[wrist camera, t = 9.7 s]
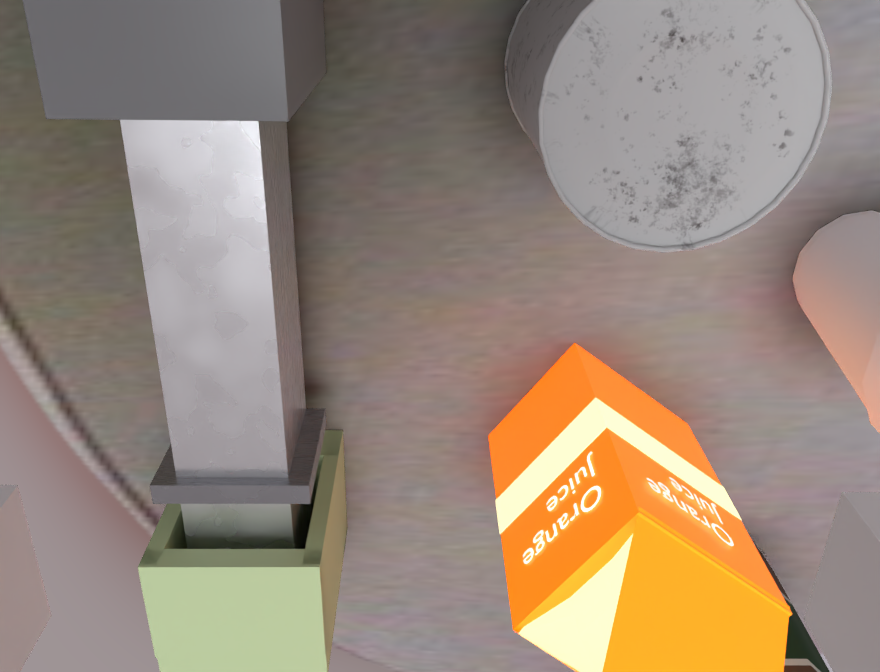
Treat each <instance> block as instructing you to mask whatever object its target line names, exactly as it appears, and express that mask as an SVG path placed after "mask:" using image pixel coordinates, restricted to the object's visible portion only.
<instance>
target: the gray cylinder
mask: <svg viewBox="0 0 880 672" xmlns="http://www.w3.org/2000/svg"><path fill="white" fill-rule="evenodd" d="M504 66H505V87H506V90H507V94H508V98H509V101H510V105H511V108H512V110H513V112H514V114H515V116H516V118H517V120H518V122H519V123H520V125H521V127H522V129H523V130H524V131H525V132H526V134H527V135H528V136H529V137H530V139H531V141H532V143H533V145H534V146H535V148H536V150H537V152H538V154H539V155H540V157H541V159H542V161H543V163H544V165H545V169H546V173H547V175H548V177H549V179H550V180H551V182H552V184H553V186H554V188H555V190H556V192H557V193H558V195H559V197H560V199H561V201H562V202H563V203H564V204H565V205H566V206H567V207H568V209H569V210H570V211H571V212H572V213H573V214H574V215H575V216H576V217H577V218H578V220H579V221H580V222H581V223H583V224H584V225H586V226H587V227H589V228H590V229H592V230H593V231H594V232H596V233H597V234H599V235H600V236H602V237H603V238H605V239H607V240H610V241H613V242H615V243H618V244H621V245H623V246H626V247H629V248H632V249H637V250H645V251H653V252H660V253H665V252H677V251H688V250H695V249H698V248H702V247H705V246H708V245H712V244H715V243H719V242H722V241H724V240H726V239H728V238H730V237H732V236H734V235H736V234H738V233H740V232H742V231H744V230H745V229H747V228H749V227H751V226H753V225H754V224H755V223H756V222H758V221H759V220H760V219H761V218H763V217H764V216H765V215H767V214H768V213H769V212H770V211H772V210H773V209H774V208H775V207H777V206H778V205H779V204H780V202H781V201H782V200H783V199H784V198H785V197H786V196H787V194H788V193H789V192H790V191H791V190H792V189H793V188H794V186H795V185H796V184H797V183H798V182H799V181H800V179H801V177H802V176H803V174H804V172H805V171H806V169H807V167H808V165H809V164H810V162H811V160H812V159H813V157H814V155H815V153H816V152H817V150H818V147H819V144H820V141H821V138H822V135H823V132H824V129H825V126H826V123H827V121H828V116H829V108H830V100H831V92H832V75H831V65H830V55H829V50H828V47H827V44H826V41H825V38H824V35H823V33H822V30H821V27H820V24H819V21H818V19H817V18H816V16H815V15H814V13H813V12H812V10H811V9H810V8H809V6H808V5H807V3H806V2H805V0H527V1H526V3H525V4H524V6H523V7H522V9H521V10H520V12H519V13H518V15H517V18H516V20H515V23H514V25H513V28H512V30H511V33H510V35H509V38H508V44H507V50H506V56H505V62H504Z"/></svg>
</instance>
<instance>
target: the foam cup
mask: <svg viewBox="0 0 880 672" xmlns="http://www.w3.org/2000/svg"><path fill="white" fill-rule="evenodd" d="M792 279H793V284H794V288H795V293H796V297H797V301H798V302H799V303H800V306H801V308H802V310H803V311H804V313H805V314H806V316H807V317H808V319H809V321H810V322H811V324H812V325H813V327H814V328H815V330H816V331H817V333H818V334H819V336H820V337H821V339H822V341H823V342H824V344H825V345H826V347H827V348H828V350H829V351H830V353H831V354H832V356H833V357H834V359H835V361H836V362H837V364H838V365H839V367H840V368H841V370H842V371H843V373H844V374H845V376H846V377H847V379H848V381H849V382H850V384H851V385H852V387H853V388H854V390H855V391H856V393H857V394H858V396H859V397H860V399H861V401H862V402H863V404H864V405H865V407H866V408H867V410H868V415H869V420H870V423H871V425H872V426H873V427H874V428H875V429H876V430H877V431H878V432H879V433H880V212H876V211H872V210H871V211H864V212H858V213H852V214H845V215H842V216H841V217H839V218H837V219H835V220H834V221H832V222H830V223H829V224H827V225H825V226H824V227H822V228H820V229H819V230H817V231H816V233H815V234H814V235H813V236H812V238H811V239H810V240H809V241H808V243H807V244H806V245H805V246H804V248H803V249H802V250H801V252H800V253H799V256H798V259H797V263H796V267H795V270H794V274H793V278H792Z"/></svg>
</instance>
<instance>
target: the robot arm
mask: <svg viewBox="0 0 880 672" xmlns="http://www.w3.org/2000/svg"><path fill="white" fill-rule="evenodd" d="M50 617H51V612H50V608H49V604H48V600H47V596H46V593H45V589H44V585H43V581H42V577H41V573H40V569H39V565H38V562H37V557H36V554H35V550H34V546H33V542H32V538H31V534H30V530H29V527H28V523H27V519H26V515H25V511H24V507H23V503H22V499H21V496H20V492H19V488H18V485H0V672H20V671H21V669H22V667H23V666H24V664H25V662H26V660H27V659H28V657H29V655H30V653H31V651H32V650H33V648H34V646H35V644H36V642H37V641H38V639H39V637H40V635H41V633H42V632H43V630H44V628H45V626H46V624H47V623H48V621H49V619H50ZM804 620H805V622H806V624H807V625H808V627H809V629H810V631H811V632H812V634H813V636H814V638H815V640H816V641H817V643H818V645H819V647H820V649H821V650H822V652H823V654H824V656H825V657H826V659H827V661H828V663H829V665H830V666H831V668H832V670H833V672H880V492H842V493H841V497H840V500H839V503H838V507H837V510H836V513H835V517H834V520H833V523H832V527H831V530H830V533H829V536H828V540H827V543H826V546H825V550H824V553H823V556H822V560H821V563H820V566H819V570H818V573H817V576H816V580H815V583H814V586H813V590H812V593H811V596H810V600H809V603H808V606H807V610H806V613H805V616H804Z"/></svg>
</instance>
